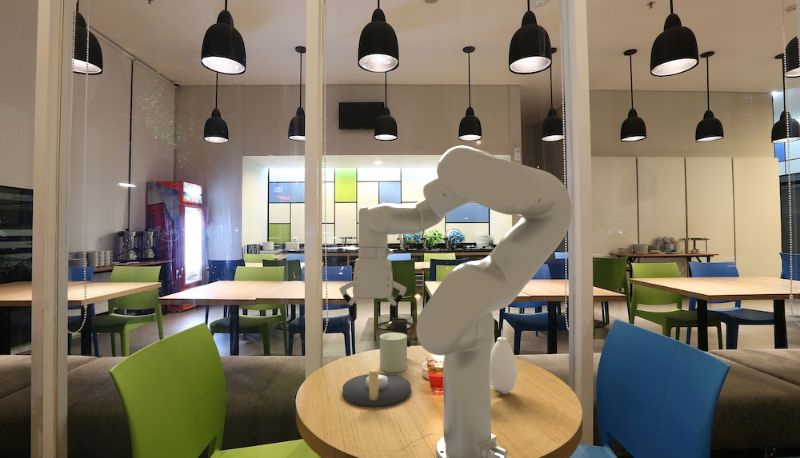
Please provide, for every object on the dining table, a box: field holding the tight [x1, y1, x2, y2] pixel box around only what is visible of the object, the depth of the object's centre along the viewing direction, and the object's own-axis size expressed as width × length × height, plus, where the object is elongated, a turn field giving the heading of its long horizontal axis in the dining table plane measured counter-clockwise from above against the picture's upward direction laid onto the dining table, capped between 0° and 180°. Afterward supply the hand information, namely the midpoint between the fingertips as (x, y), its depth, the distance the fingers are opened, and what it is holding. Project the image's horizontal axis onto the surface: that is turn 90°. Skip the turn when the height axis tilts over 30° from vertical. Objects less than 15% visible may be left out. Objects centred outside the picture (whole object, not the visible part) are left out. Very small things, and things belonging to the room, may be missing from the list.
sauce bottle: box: [490, 329, 518, 395], centre depth 105 cm, size 8×8×18 cm
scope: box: [392, 317, 412, 348], centre depth 135 cm, size 8×14×10 cm
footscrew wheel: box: [342, 369, 412, 408], centre depth 103 cm, size 19×19×8 cm
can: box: [379, 332, 408, 373], centre depth 122 cm, size 9×9×12 cm
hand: (372, 320), depth 96 cm, fingers open, 9 cm apart
